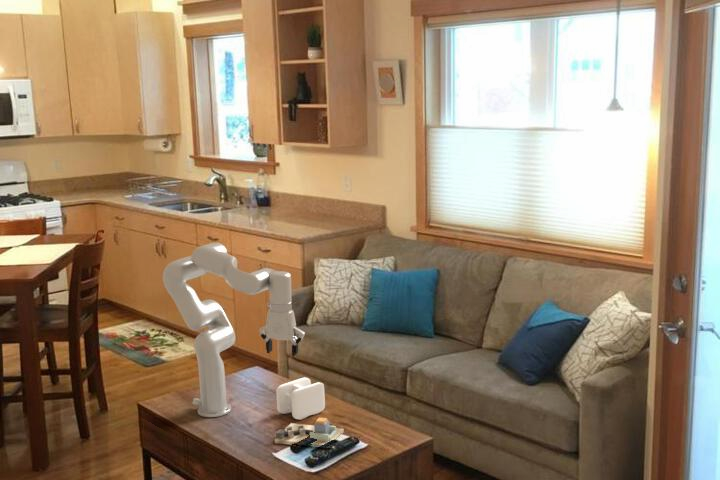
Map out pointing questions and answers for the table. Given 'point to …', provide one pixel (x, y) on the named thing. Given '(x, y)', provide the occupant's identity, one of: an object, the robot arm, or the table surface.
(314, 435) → the bracket
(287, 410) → the cable organizer
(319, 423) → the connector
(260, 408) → the table surface
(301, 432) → the board
